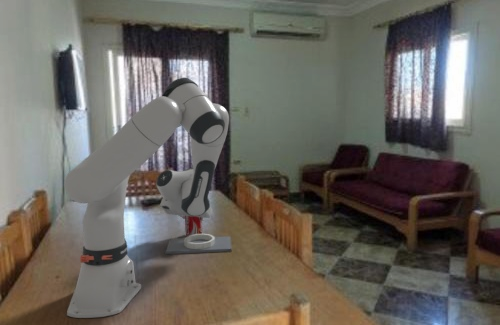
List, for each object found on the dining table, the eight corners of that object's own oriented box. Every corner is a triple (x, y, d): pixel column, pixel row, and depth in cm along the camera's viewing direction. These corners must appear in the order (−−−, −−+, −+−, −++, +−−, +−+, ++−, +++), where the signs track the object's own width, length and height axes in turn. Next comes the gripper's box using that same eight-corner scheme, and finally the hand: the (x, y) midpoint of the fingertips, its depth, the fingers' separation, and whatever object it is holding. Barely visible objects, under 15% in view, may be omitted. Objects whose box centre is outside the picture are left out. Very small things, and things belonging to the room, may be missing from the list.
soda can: (199, 238, 158) (198, 210, 157) (183, 237, 160) (181, 209, 158) (204, 233, 165) (203, 205, 163) (189, 232, 167) (187, 205, 165)
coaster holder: (231, 251, 144) (231, 243, 143) (165, 254, 142) (165, 246, 142) (230, 238, 158) (230, 231, 157) (170, 241, 156) (170, 234, 155)
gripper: (207, 195, 150) (219, 213, 160) (162, 192, 157) (175, 209, 167) (202, 209, 146) (214, 227, 157) (156, 205, 153) (170, 222, 164)
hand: (194, 218), depth 162 cm, fingers closed on soda can, 7 cm apart
